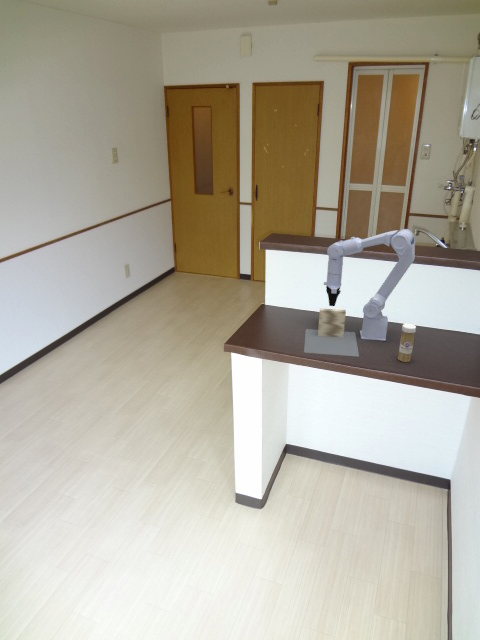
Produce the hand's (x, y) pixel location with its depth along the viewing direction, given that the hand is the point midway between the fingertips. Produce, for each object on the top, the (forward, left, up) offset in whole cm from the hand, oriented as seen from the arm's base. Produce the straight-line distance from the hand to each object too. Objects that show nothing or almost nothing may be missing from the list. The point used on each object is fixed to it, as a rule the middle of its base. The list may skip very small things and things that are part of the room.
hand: (331, 304), depth 188 cm
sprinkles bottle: (-26, +25, -11) cm, 38 cm away
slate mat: (0, +15, -10) cm, 18 cm away
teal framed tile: (0, +9, -10) cm, 13 cm away
